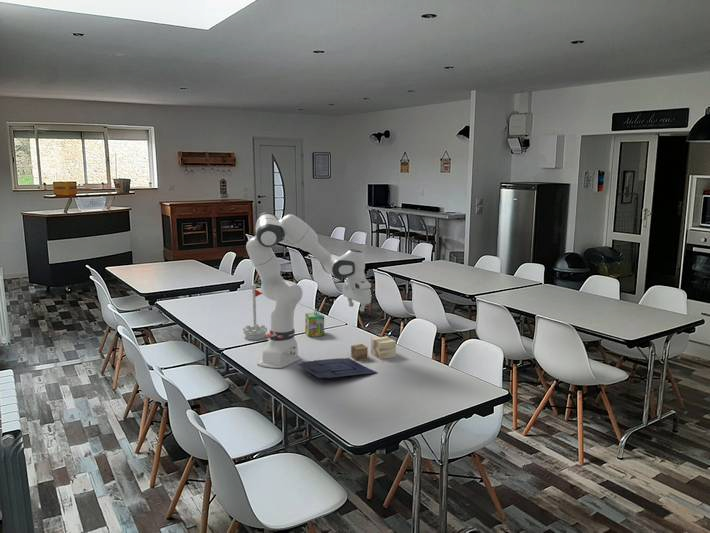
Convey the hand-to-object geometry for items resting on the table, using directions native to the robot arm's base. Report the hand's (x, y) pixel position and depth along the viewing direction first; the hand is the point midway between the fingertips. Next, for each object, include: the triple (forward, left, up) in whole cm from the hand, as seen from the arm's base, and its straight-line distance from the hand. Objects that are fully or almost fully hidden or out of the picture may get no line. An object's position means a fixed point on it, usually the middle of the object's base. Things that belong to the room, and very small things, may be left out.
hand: (356, 308), depth 263 cm
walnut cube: (-7, -4, -23) cm, 24 cm away
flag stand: (+8, +62, -23) cm, 67 cm away
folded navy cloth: (-28, +1, -24) cm, 36 cm away
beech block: (+1, -14, -23) cm, 27 cm away
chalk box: (+22, +32, -23) cm, 46 cm away
